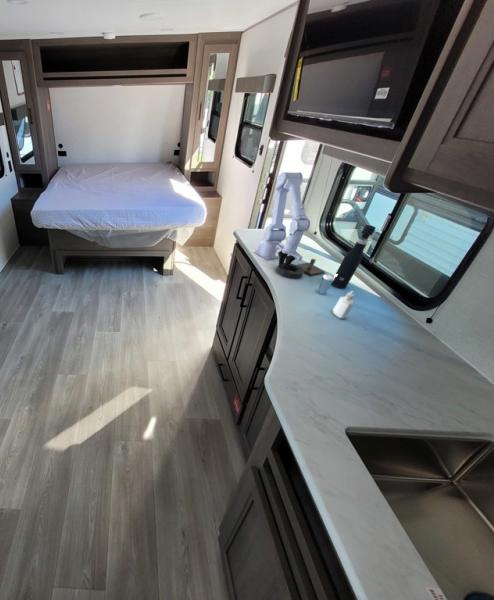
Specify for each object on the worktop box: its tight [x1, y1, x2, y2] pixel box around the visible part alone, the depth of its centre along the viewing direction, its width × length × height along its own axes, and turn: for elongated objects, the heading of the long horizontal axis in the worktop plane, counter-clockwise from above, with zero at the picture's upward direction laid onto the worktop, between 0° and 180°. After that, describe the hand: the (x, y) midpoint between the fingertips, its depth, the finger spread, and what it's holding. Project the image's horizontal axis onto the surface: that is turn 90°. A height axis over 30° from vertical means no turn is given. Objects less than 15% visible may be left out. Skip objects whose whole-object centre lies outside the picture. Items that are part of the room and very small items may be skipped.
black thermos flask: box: [330, 224, 377, 290], centre depth 141 cm, size 6×6×30 cm
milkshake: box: [316, 274, 338, 295], centre depth 140 cm, size 4×5×10 cm
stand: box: [296, 258, 325, 277], centre depth 159 cm, size 10×10×6 cm
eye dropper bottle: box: [332, 290, 355, 320], centre depth 126 cm, size 4×6×12 cm
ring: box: [275, 262, 304, 280], centre depth 157 cm, size 12×12×3 cm
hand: (282, 266), depth 160 cm, fingers closed on ring, 2 cm apart
